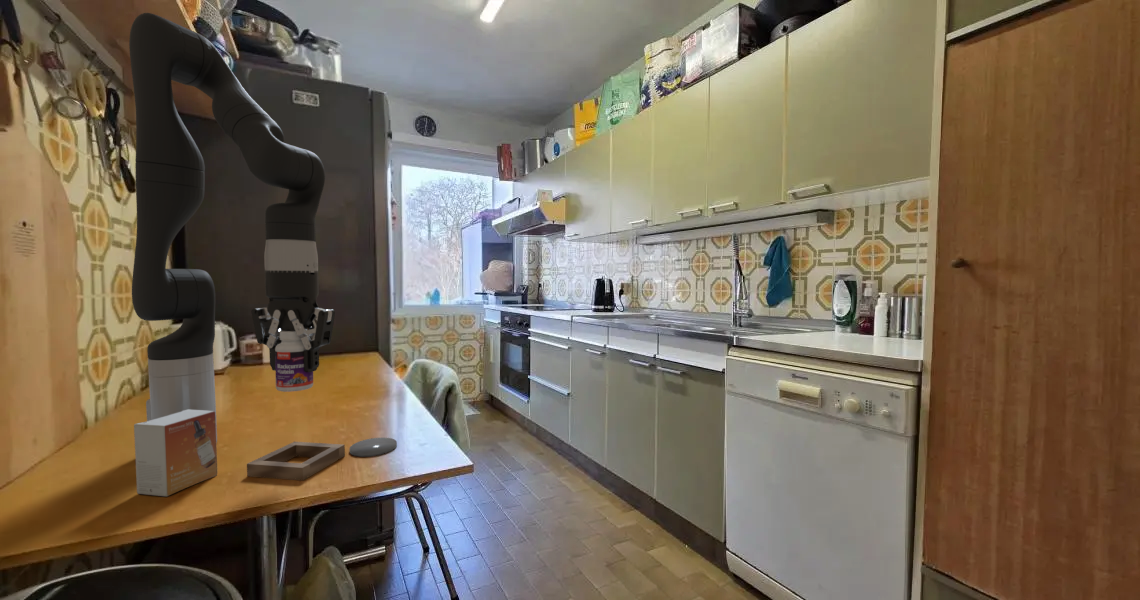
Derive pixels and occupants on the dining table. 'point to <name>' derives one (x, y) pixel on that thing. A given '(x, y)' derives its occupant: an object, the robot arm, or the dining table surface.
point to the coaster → (373, 447)
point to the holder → (280, 469)
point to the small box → (175, 452)
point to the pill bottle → (291, 364)
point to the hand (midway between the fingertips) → (294, 370)
